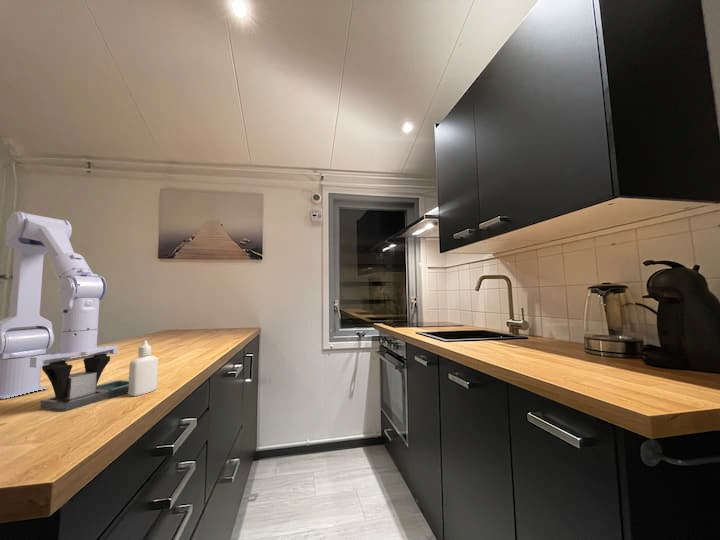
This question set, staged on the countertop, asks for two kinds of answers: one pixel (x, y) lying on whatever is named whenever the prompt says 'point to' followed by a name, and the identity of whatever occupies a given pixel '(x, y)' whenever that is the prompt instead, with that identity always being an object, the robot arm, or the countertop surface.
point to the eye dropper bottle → (143, 372)
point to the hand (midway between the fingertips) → (76, 394)
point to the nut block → (80, 385)
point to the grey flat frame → (101, 394)
